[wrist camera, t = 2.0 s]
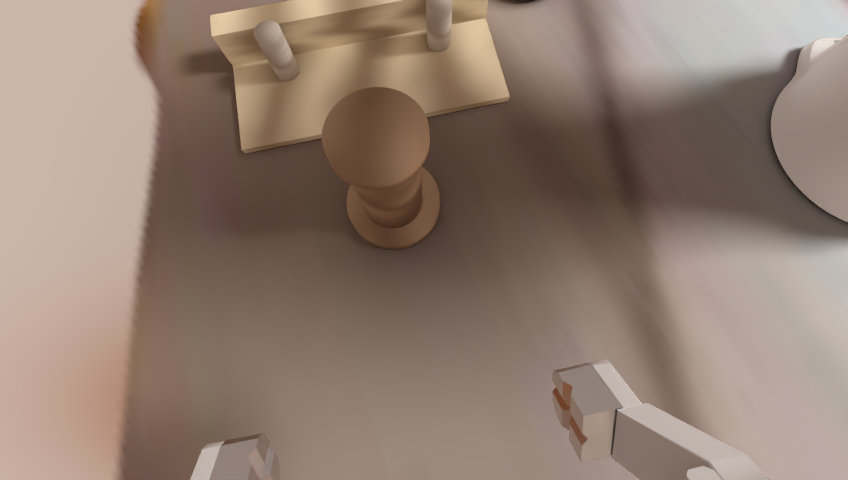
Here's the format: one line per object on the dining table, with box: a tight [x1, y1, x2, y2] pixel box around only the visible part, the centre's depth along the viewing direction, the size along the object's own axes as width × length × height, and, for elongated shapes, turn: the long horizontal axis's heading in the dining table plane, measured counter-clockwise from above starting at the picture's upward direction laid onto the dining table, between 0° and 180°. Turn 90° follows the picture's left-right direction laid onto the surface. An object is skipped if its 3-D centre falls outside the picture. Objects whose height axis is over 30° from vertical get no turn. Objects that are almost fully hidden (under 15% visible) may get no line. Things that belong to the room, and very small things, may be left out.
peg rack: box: [210, 0, 510, 153], centre depth 32 cm, size 22×10×5 cm, turn 102°
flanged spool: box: [322, 87, 440, 250], centre depth 26 cm, size 7×7×11 cm
